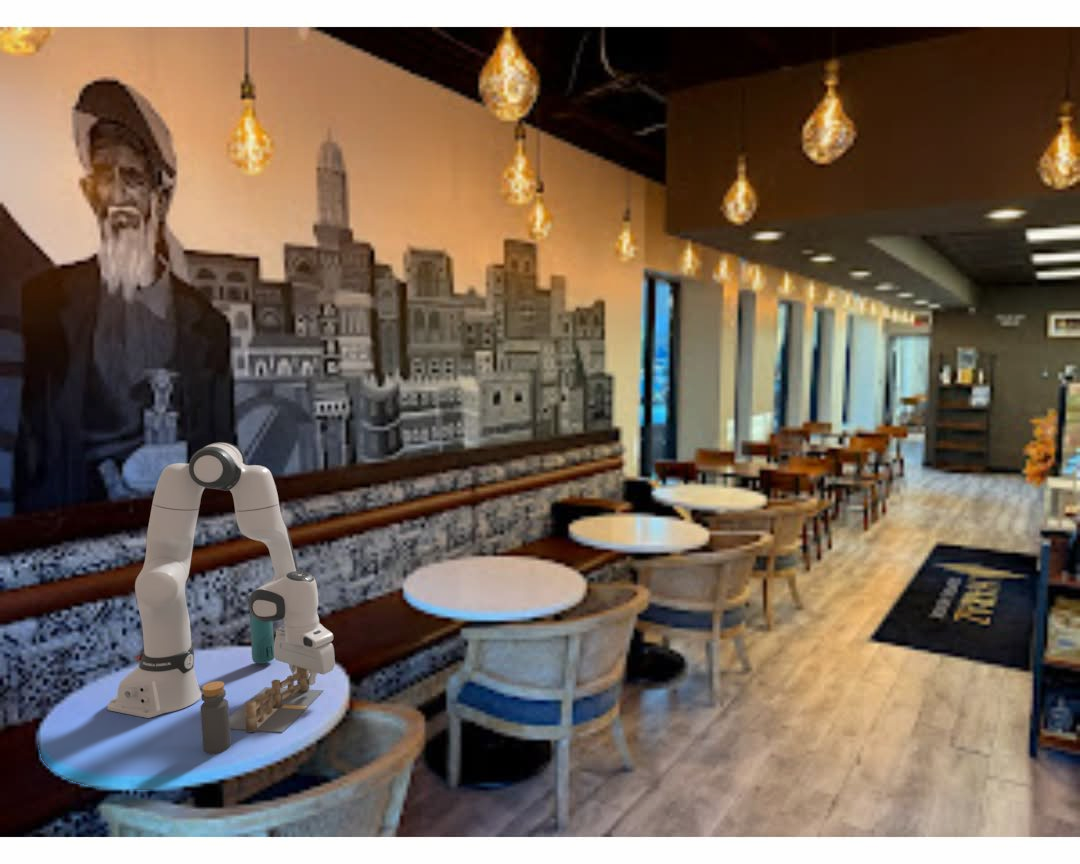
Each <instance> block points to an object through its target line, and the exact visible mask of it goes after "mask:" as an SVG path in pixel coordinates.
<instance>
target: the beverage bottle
mask: <svg viewBox="0 0 1080 864" xmlns="http://www.w3.org/2000/svg"><path fill="white" fill-rule="evenodd" d="M249 624H250V643H251V644H250V645H251V648H250V649H251V659H252V661H253V663H255V664H265V663H269V662H272V661H273V660H274V659H275V657H274V641H275V637H274V630H275V629H274V621H271V622H261V621H259V620H257V619H255V618H254V617H253V616H252V614H251V613H249Z"/></svg>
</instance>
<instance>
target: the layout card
mask: <svg viewBox="0 0 1080 864" xmlns="http://www.w3.org/2000/svg"><path fill="white" fill-rule="evenodd" d="M271 688H272V686H271V687H270V686H269V687H268V686H265V687H264V688H263V689H261V690H260V691H259V692H258V693H257V694H255V695H254V696H253V697H252V698H250V699H249V700H248V701H247V702H249V701H255V702H256V698H257V697H258V696H261V697H262V696H263V695H264V694H265V690H267V689H271ZM286 690H288V687H283V688H280V693H282V692H284V691H286ZM322 693H324V690H323V689H310V688H309V689H308V690H307V691H302V692H301V691H296V692H294V695H293V696H291V697H290V696H287V697H286V698H284V699H281V707H279V708H273V707H272V712H271V713H270V714H264V715H263V716H264V720H263V721H262V722H257V730H256V731H255V732H264V733H278V734H283V733H285V731H286V730H288V728H289V727H290V726H291V725H292V724H293V723H294V722H295V721H296V720H297V719H298V718H299V717H300V716H301V715H302V714H303V713H304V712H305V710H307V709H308V708H309V706H311V705H312V704H314V702H315V701H316V699H318V698H319V696H321V695H322ZM272 699H273V698H272V696H271V700H272ZM264 706H265V702H264V703H263V707H264ZM256 713H257V710H256ZM229 724H230V731H232V730H233V731H234V730H235V731H246V715H245V704H244V705H242V706H241V707H240V708H239V709H237V710H236V711H235V712H234V713H233V714H232V715H230V716H229Z"/></svg>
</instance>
